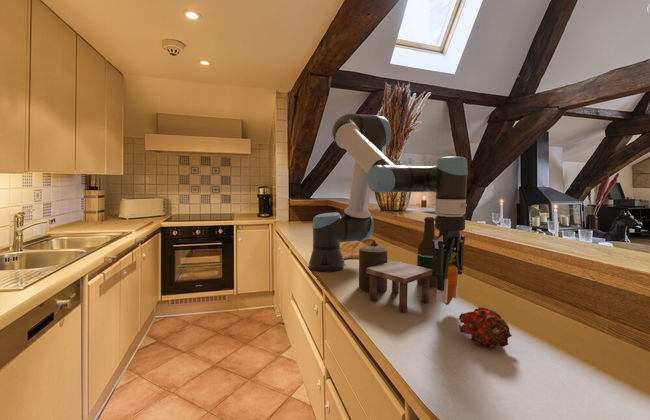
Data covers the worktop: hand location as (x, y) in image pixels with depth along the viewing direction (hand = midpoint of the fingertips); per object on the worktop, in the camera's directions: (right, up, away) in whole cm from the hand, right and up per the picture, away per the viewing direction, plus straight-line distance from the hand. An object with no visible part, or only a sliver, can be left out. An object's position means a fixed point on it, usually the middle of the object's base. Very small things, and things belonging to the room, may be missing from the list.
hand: (446, 298), depth 83 cm
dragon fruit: (+2, -5, -16) cm, 17 cm away
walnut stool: (-11, -3, +9) cm, 15 cm away
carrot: (0, -2, 0) cm, 2 cm away
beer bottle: (+3, -2, +25) cm, 25 cm away
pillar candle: (-17, -3, +21) cm, 27 cm away
